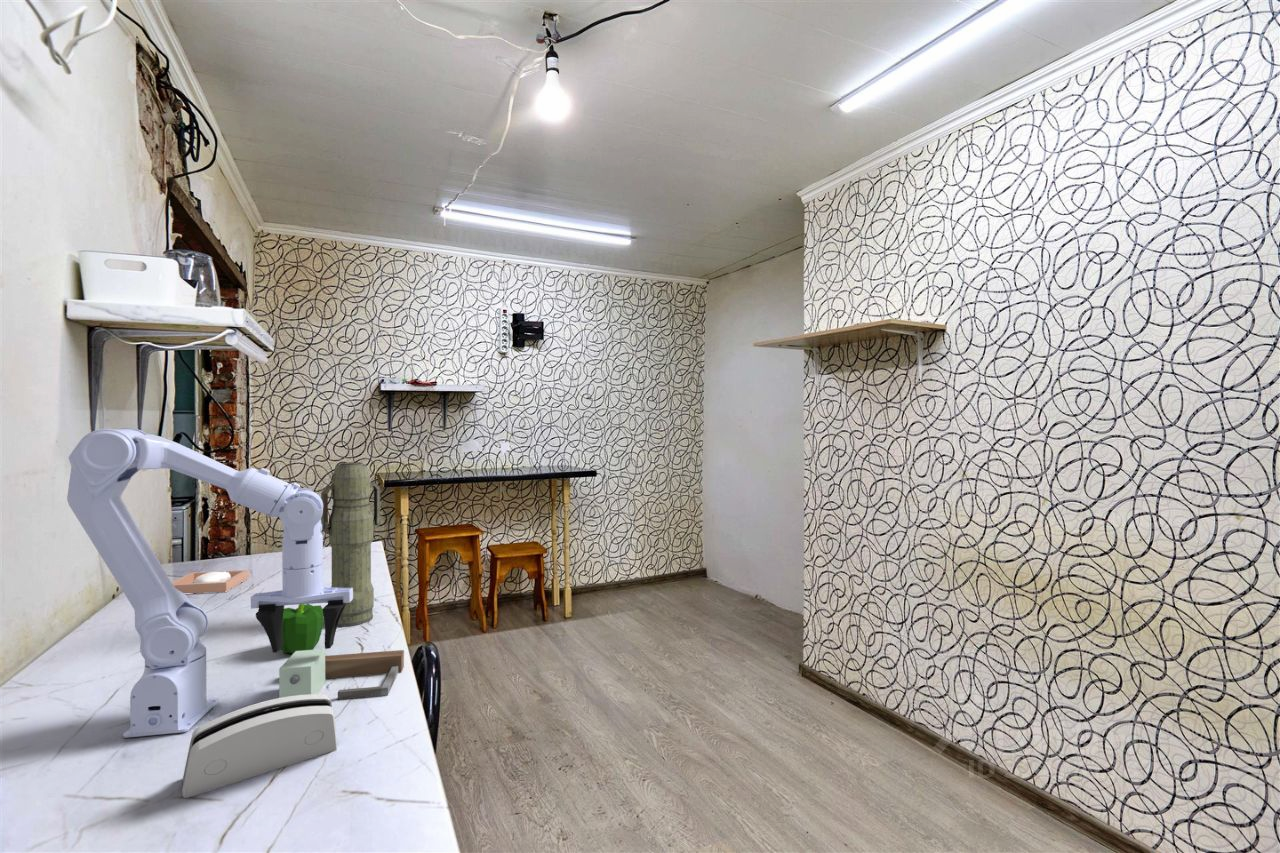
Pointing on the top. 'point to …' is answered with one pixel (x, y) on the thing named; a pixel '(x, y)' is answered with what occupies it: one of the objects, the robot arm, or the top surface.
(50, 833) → the top surface
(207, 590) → the tan flat square tray
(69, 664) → the top surface
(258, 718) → the grey napkin holder
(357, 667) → the wall board
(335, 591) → the robot arm
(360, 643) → the top surface
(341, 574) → the thermos
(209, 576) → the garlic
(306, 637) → the bell pepper
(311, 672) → the cabinet block
